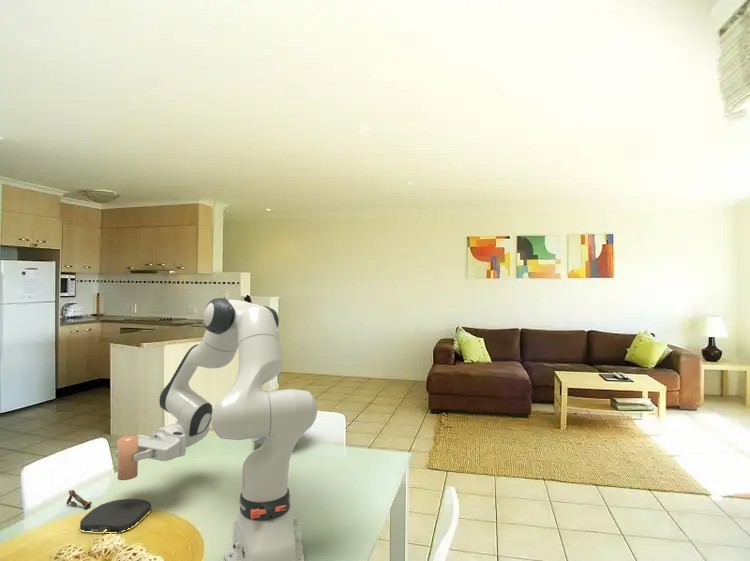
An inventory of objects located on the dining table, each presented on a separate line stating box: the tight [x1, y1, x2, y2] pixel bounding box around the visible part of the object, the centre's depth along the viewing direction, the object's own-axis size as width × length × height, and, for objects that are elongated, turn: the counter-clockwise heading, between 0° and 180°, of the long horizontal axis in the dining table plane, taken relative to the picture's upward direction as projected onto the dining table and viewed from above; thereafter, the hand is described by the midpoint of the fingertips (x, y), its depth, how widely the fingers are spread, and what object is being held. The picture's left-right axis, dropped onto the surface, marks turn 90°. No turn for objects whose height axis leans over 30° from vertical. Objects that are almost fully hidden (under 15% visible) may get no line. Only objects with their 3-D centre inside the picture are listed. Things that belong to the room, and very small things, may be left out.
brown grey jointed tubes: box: [65, 489, 93, 511], centre depth 130 cm, size 2×8×4 cm, turn 75°
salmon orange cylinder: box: [117, 434, 139, 481], centre depth 126 cm, size 5×5×11 cm
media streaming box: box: [79, 498, 152, 534], centre depth 123 cm, size 15×15×3 cm
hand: (125, 456), depth 125 cm, fingers closed on salmon orange cylinder, 5 cm apart
